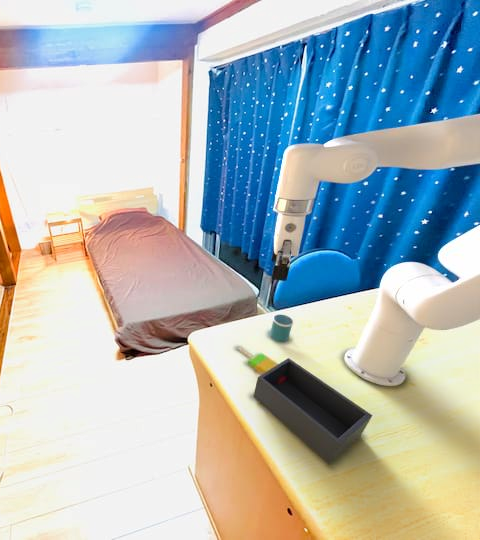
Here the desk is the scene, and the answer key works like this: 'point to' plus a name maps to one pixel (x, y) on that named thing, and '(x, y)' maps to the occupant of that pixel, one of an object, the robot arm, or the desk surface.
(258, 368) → the popsicle
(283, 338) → the paper cup
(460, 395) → the desk surface
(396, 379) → the robot arm
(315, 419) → the bin
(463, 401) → the desk surface
